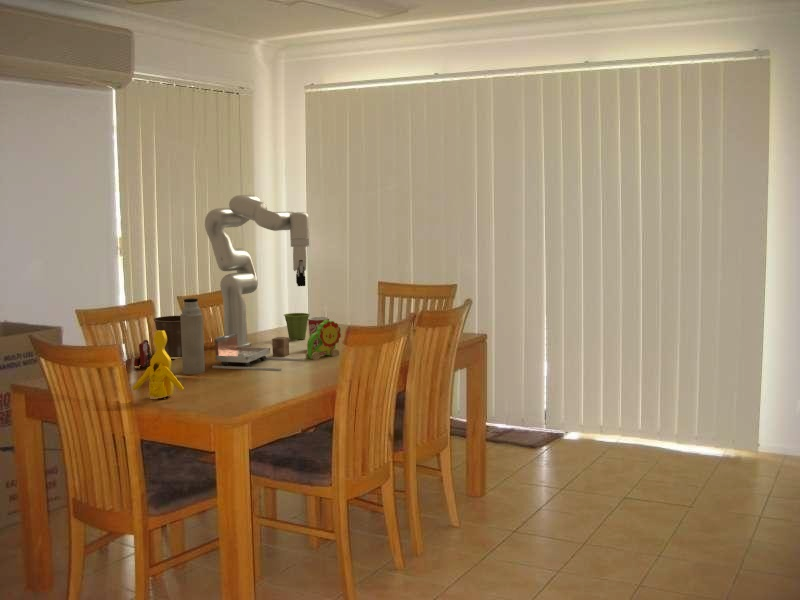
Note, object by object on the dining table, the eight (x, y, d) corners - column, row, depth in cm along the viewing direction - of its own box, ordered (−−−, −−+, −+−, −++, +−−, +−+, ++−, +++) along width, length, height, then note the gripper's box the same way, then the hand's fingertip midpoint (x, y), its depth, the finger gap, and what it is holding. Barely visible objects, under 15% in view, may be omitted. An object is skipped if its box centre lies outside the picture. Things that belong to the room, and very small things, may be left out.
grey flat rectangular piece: (212, 370, 352) (212, 365, 351) (237, 360, 372) (237, 356, 371) (280, 373, 343) (280, 368, 343) (302, 362, 363) (302, 358, 363)
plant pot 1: (203, 357, 379) (201, 318, 377) (166, 362, 369) (164, 322, 367) (185, 352, 391) (183, 314, 390) (148, 357, 381) (147, 318, 379)
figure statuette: (129, 400, 303) (126, 333, 300) (139, 394, 311) (136, 329, 308) (182, 400, 301) (179, 333, 298) (191, 395, 308) (188, 329, 306)
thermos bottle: (190, 371, 349) (187, 297, 346) (209, 372, 347) (206, 297, 343) (178, 375, 342) (175, 299, 339) (197, 376, 339) (194, 300, 336)
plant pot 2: (309, 341, 416) (308, 315, 414) (282, 341, 416) (281, 316, 414) (312, 336, 427) (311, 312, 426) (286, 337, 427) (285, 312, 426)
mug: (329, 351, 388) (328, 319, 386) (307, 351, 388) (306, 319, 386) (331, 346, 400) (330, 315, 399) (310, 346, 400) (309, 315, 398)
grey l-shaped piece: (213, 367, 352) (212, 339, 351) (237, 358, 371) (236, 331, 370) (247, 368, 348) (246, 340, 346) (270, 359, 367) (269, 332, 365)
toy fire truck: (159, 364, 365) (158, 338, 364) (151, 370, 353) (150, 343, 352) (141, 364, 365) (140, 338, 364) (133, 370, 353) (131, 343, 352)
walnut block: (272, 358, 374) (272, 338, 373) (278, 356, 378) (277, 336, 377) (284, 359, 372) (283, 339, 371) (289, 356, 377) (288, 337, 376)
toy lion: (313, 362, 365) (312, 323, 363) (304, 360, 368) (303, 322, 367) (344, 356, 376) (343, 319, 374) (335, 355, 379) (334, 318, 378)
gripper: (289, 241, 386) (290, 282, 389) (291, 244, 369) (292, 287, 372) (307, 241, 388) (308, 282, 390) (310, 244, 371) (311, 286, 373)
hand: (300, 284), depth 381 cm, fingers open, 9 cm apart
